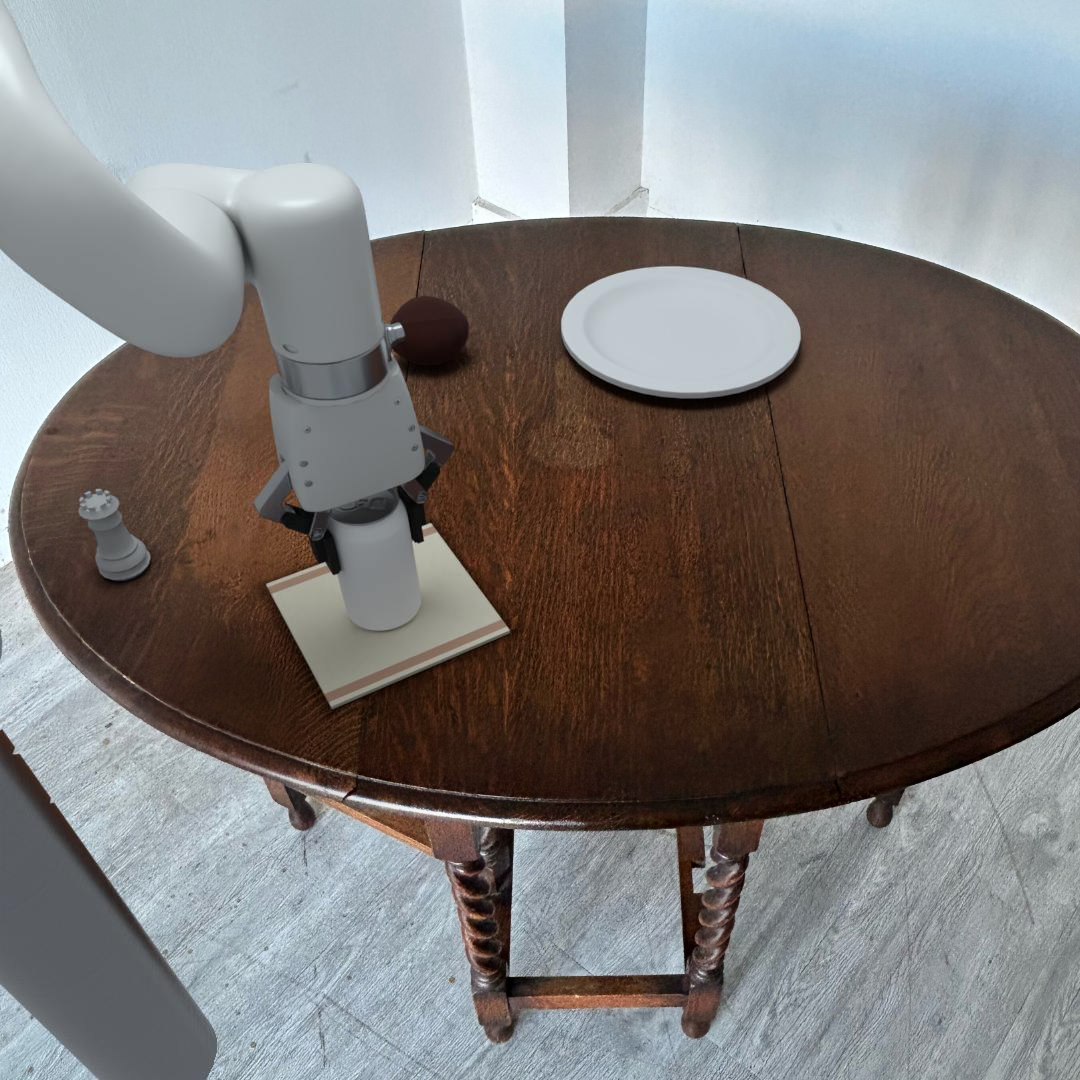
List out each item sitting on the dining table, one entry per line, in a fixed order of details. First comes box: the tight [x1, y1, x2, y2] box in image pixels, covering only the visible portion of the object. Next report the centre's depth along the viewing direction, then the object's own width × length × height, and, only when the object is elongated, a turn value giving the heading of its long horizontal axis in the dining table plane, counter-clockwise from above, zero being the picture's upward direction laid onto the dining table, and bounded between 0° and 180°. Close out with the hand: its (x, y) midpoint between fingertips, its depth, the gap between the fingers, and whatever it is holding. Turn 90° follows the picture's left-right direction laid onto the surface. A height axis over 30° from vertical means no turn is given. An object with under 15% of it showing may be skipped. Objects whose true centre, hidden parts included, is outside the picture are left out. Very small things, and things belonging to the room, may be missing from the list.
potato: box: [389, 295, 470, 367], centre depth 111 cm, size 8×9×8 cm
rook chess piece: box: [77, 488, 152, 582], centre depth 86 cm, size 4×4×8 cm
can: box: [327, 487, 421, 631], centre depth 81 cm, size 6×6×12 cm
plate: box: [560, 265, 802, 399], centre depth 116 cm, size 28×28×2 cm
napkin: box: [265, 522, 511, 710], centre depth 86 cm, size 16×16×1 cm
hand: (372, 547), depth 81 cm, fingers closed on can, 6 cm apart
